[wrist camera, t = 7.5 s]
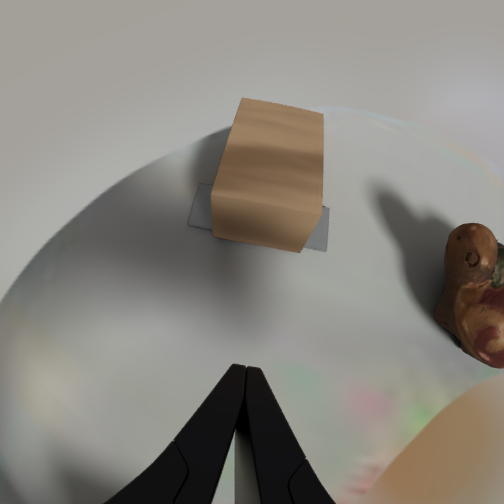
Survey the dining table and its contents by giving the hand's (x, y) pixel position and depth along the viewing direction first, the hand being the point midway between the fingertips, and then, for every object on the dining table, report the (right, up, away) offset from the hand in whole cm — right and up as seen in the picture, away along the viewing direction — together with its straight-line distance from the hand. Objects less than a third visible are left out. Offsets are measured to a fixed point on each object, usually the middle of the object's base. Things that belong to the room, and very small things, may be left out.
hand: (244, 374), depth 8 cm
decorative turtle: (+19, -2, +12) cm, 22 cm away
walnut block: (+1, +5, +9) cm, 11 cm away
